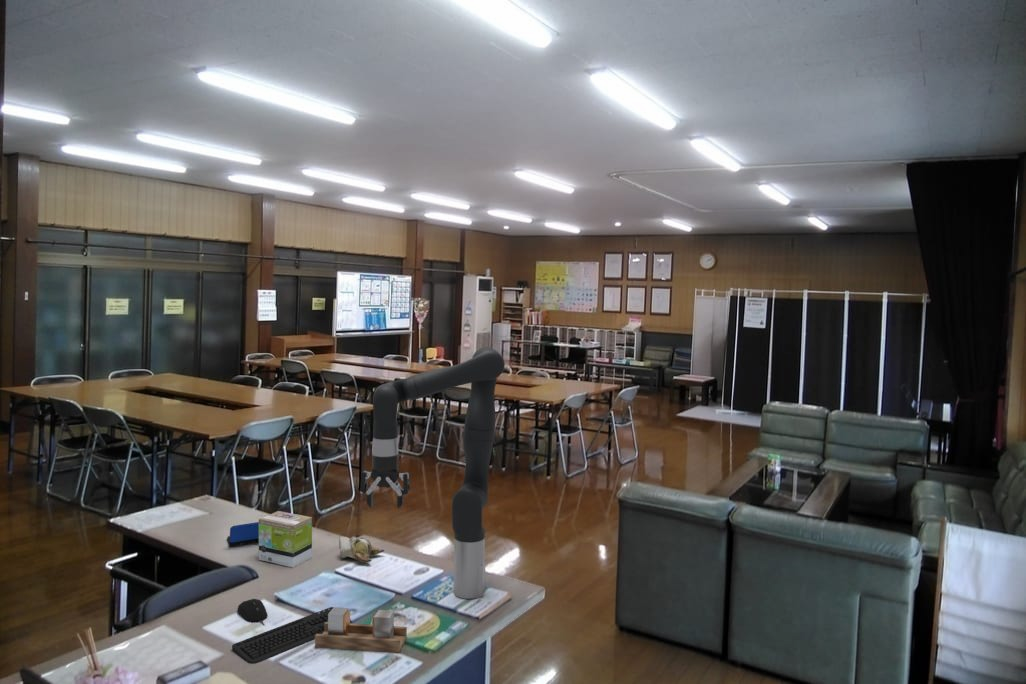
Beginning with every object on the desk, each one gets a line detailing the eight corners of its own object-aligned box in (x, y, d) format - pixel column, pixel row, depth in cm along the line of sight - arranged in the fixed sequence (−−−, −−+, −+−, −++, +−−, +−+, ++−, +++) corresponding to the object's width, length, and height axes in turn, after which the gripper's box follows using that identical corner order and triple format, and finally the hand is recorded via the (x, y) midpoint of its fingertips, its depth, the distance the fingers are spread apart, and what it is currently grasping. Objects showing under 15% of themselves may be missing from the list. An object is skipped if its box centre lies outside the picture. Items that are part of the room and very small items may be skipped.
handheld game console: (271, 533, 255) (270, 509, 255) (277, 544, 244) (277, 519, 243) (226, 539, 248) (226, 515, 247) (230, 551, 236) (230, 526, 236)
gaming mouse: (252, 630, 181) (252, 615, 181) (234, 610, 192) (233, 596, 192) (275, 623, 185) (275, 609, 185) (256, 604, 196) (256, 590, 196)
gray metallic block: (333, 632, 178) (333, 607, 177) (350, 634, 177) (350, 608, 177) (328, 640, 174) (328, 614, 173) (345, 641, 173) (345, 615, 173)
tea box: (257, 561, 228) (257, 518, 227) (278, 551, 237) (278, 509, 236) (293, 568, 222) (293, 524, 221) (313, 557, 231) (313, 515, 231)
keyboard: (252, 667, 163) (252, 659, 163) (231, 651, 171) (230, 644, 170) (354, 625, 186) (354, 618, 185) (332, 612, 193) (332, 605, 193)
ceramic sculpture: (347, 526, 238) (386, 533, 234) (346, 550, 239) (384, 557, 234) (331, 536, 228) (371, 544, 223) (330, 561, 228) (369, 569, 224)
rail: (406, 637, 178) (406, 608, 177) (399, 652, 170) (399, 621, 170) (325, 632, 180) (325, 603, 179) (315, 647, 172) (314, 616, 172)
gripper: (412, 450, 200) (411, 504, 201) (365, 449, 202) (365, 502, 203) (406, 456, 193) (405, 512, 194) (357, 454, 194) (357, 509, 195)
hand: (385, 507), depth 198 cm, fingers open, 8 cm apart
